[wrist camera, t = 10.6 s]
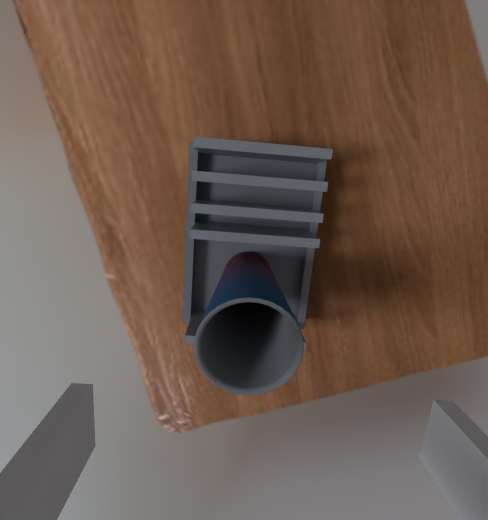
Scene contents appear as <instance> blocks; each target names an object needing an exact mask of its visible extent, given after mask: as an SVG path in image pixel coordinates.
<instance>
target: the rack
mask: <svg viewBox="0 0 488 520" xmlns="http://www.w3.org/2000/svg"><path fill="white" fill-rule="evenodd" d="M332 152H333V149H326V148H315V147H304V146H293V145H282V144H271V143H260V142H249V141H238V140H227V139H216V138H205V137H194V140H193V143H192V142H190V147H189V173H188V198H187V224H186V249H185V274H184V300H183V322H189V325H188V328H187V332H186V335H185V343H187V344H194V342H195V336H196V333H197V329H198V327H199V325H200V322H201V320H202V318H203V316H204V314H205V311H206V309H207V307H208V305H209V302H210V300H211V298H212V296H213V293H214V291H215V289H216V287H217V284H218V282H219V280H220V278H221V275H222V273H223V271H224V269H225V266H226V265H227V263H228V261H229V260H230V259H231V258H232V257H233V256H234V255H236V254H238V253H242V252H254V253H257V254H259V255H261V256H262V257H263V258H265V260H266V261H267V262H268V264H269V266H270V268H271V270H272V272H273V274H274V276H275V278H276V280H277V282H278V284H279V286H280V288H281V290H282V292H283V294H284V296H285V299H286V301H287V303H288V305H289V307H290V309H291V311H292V313H293V315H294V317H295V319H296V321H297V323H298V325H299V327H300V329H304V326H305V319H306V311H307V304H308V297H309V289H310V282H311V274H312V267H313V260H314V252H315V248H319V245H320V239H319V238H318V237H317V230H318V223H323V216H324V214H323V213H321V212H320V208H321V201H322V194H323V192H327V188H328V182H324V179H325V172H326V164H327V160H331V159H332ZM302 336H303V335H302ZM303 340H304V350H305V346H306V342H305V339H304V337H303Z"/></svg>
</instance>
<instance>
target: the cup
mask: <svg viewBox="0 0 488 520" xmlns="http://www.w3.org/2000/svg"><path fill="white" fill-rule="evenodd" d="M194 351H195V358H196V360H197V363H198V365H199V368H200V369H201V371H202V372H203V374H204V375H205V376H206V377H207V378H208V379H209V380H210V381H211V382H212V383H213V384H215V385H216V386H218V387H219V388H221V389H223V390H225V391H227V392H231V393H234V394H238V395H248V396H249V395H260V394H264V393H268V392H270V391H273V390H275V389H277V388H279V387H280V386H282V385H283V384H285V383H286V382H287V381H288V380H289V379H290V378H291V377H292V376H293V375H294V374H295V372H296V371H297V369H298V368H299V365H300V363H301V360H302V357H303V351H304V340H303V336H302V332H301V329H300V327H299V325H298V323H297V321H296V319H295V317H294V315H293V313H292V311H291V309H290V307H289V305H288V303H287V301H286V299H285V296H284V294H283V292H282V290H281V288H280V286H279V284H278V282H277V280H276V278H275V276H274V274H273V272H272V270H271V268H270V266H269V264H268V262H267V261H266V260H265V258H263V257H262V256H261V255H259V254H257V253H254V252H242V253H238V254H236V255H234V256H233V257H232V258H231V259H230V260H229V261H228V263H227V265H226V266H225V269H224V271H223V273H222V275H221V278H220V280H219V282H218V284H217V287H216V289H215V291H214V293H213V296H212V298H211V300H210V302H209V305H208V307H207V309H206V311H205V314H204V316H203V318H202V320H201V322H200V325H199V327H198V329H197V333H196V336H195V342H194Z"/></svg>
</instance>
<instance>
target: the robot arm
mask: <svg viewBox="0 0 488 520" xmlns="http://www.w3.org/2000/svg"><path fill="white" fill-rule="evenodd" d="M93 404H94V403H93V384H74V383H71V385H70V386H69V387H68V388H67V390H66V391H65V392H64V394H63V395H62V396H61V397H60V399H59V400H58V401H57V402H56V404H55V405H54V406H53V407H52V409H51V410H50V411H49V412H48V414H47V415H46V416H45V418H44V419H43V420H42V421H41V423H40V424H39V425H38V426H37V428H36V429H35V430H34V431H33V433H32V434H31V435H30V436H29V438H28V439H27V440H26V442H25V443H24V444H23V445H22V447H21V448H20V449H19V450H18V452H17V453H16V454H15V455H14V457H13V458H12V459H11V460H10V462H9V463H8V464H7V465H6V467H5V468H4V469H3V470H2V472H1V473H0V520H57V518H58V517H59V515H60V513H61V511H62V509H63V507H64V505H65V503H66V501H67V499H68V497H69V495H70V493H71V491H72V490H73V488H74V486H75V484H76V482H77V480H78V478H79V476H80V474H81V472H82V470H83V468H84V466H85V464H86V463H87V461H88V459H89V457H90V455H91V453H92V451H93V449H94V447H95V429H94V428H95V427H94V405H93ZM419 458H420V459H421V461H422V462H423V464H424V465H425V467H426V468H427V470H428V471H429V473H430V474H431V476H432V477H433V479H434V480H435V482H436V483H437V485H438V486H439V488H440V489H441V491H442V492H443V494H444V495H445V497H446V498H447V500H448V501H449V503H450V504H451V506H452V507H453V509H454V510H455V512H456V513H457V515H458V516H459V518H460V519H461V520H488V436H487V435H486V434H485V433H484V432H483V431H482V430H481V429H480V428H479V427H478V426H477V425H476V424H475V423H474V422H473V421H472V420H471V419H470V418H469V417H468V416H467V415H466V414H465V413H464V412H463V411H462V410H461V409H460V408H459V407H458V406H457V405H456V404H455V403H454V402H453V401H443V400H434V402H433V406H432V410H431V414H430V418H429V422H428V426H427V430H426V434H425V437H424V441H423V446H422V449H421V453H420V457H419Z"/></svg>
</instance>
